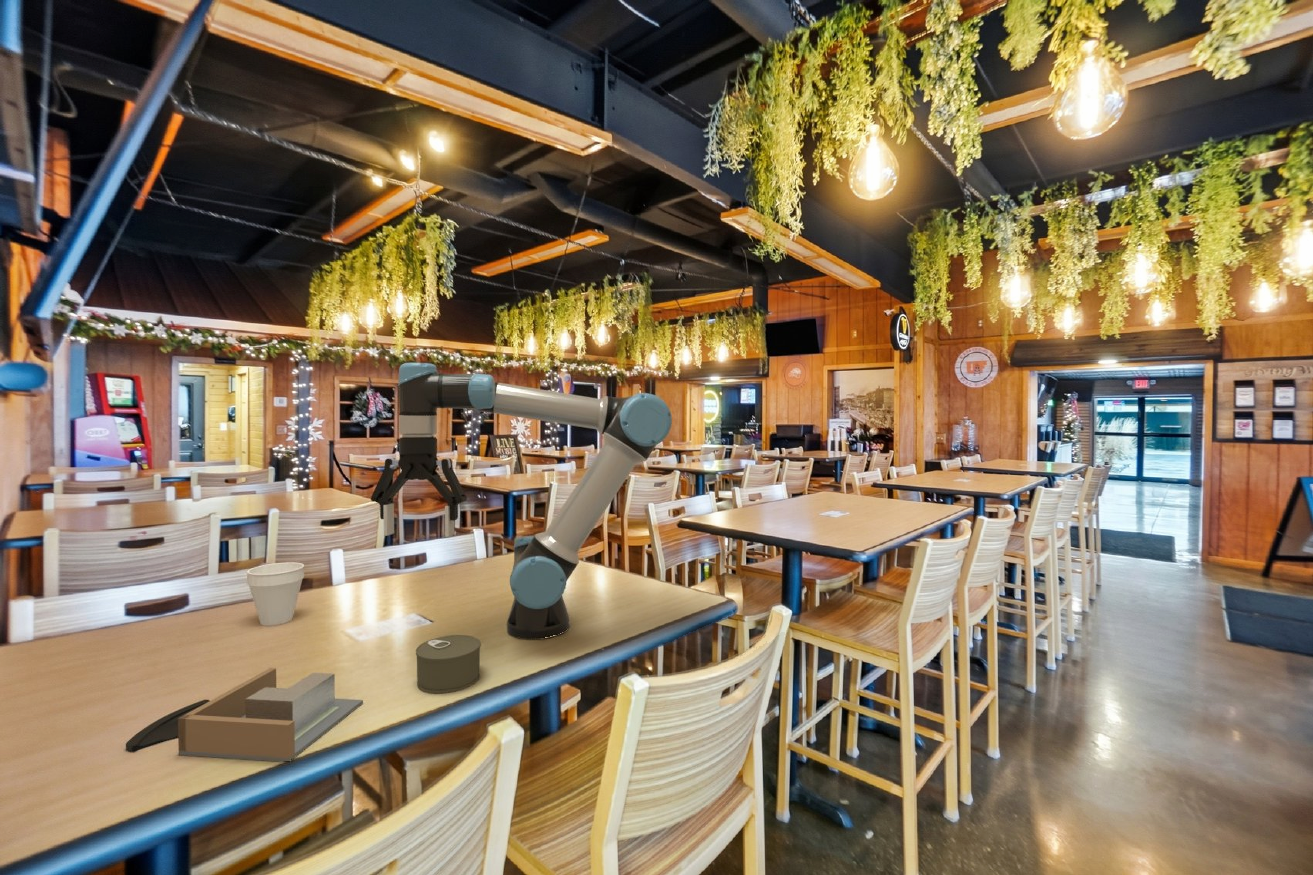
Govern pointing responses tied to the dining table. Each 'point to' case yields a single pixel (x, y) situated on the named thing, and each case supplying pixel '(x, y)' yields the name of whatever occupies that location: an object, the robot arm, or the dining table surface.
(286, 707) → the bracket
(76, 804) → the dining table surface
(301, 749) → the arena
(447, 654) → the can
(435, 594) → the dining table surface
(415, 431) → the robot arm
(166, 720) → the dark sector wedge
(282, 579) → the cup
